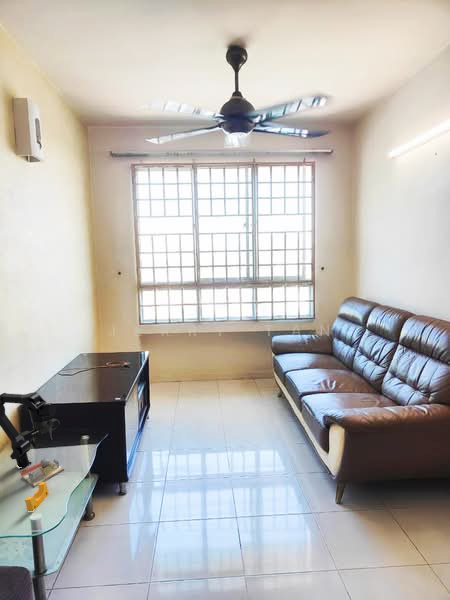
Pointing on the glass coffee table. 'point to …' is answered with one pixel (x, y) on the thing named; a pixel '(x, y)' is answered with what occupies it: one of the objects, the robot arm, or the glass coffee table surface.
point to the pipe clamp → (37, 497)
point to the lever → (35, 466)
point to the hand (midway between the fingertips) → (43, 443)
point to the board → (43, 478)
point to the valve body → (43, 471)
